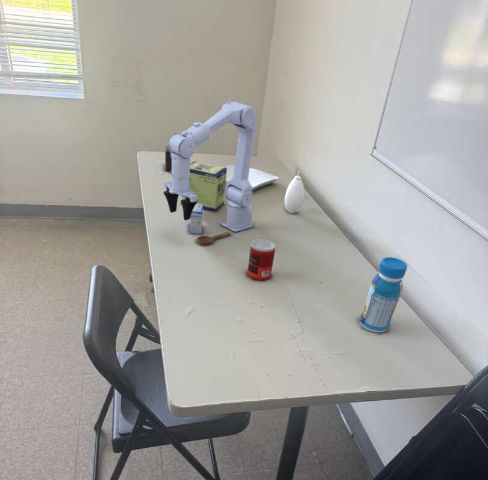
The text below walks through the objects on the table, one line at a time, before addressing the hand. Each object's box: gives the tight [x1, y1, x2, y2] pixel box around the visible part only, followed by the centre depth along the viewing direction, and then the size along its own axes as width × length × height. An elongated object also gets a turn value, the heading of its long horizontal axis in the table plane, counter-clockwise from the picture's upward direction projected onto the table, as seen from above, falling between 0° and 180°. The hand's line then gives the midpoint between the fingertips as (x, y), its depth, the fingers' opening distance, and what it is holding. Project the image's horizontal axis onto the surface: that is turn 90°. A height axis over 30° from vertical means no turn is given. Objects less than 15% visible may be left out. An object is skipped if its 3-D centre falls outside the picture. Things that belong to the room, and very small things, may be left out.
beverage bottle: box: [359, 256, 408, 333], centre depth 121 cm, size 8×8×20 cm
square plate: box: [223, 163, 280, 191], centre depth 215 cm, size 27×27×4 cm
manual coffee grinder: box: [164, 133, 178, 172], centre depth 217 cm, size 16×11×18 cm
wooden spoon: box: [196, 231, 232, 246], centre depth 161 cm, size 15×5×1 cm, turn 135°
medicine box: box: [189, 204, 204, 235], centre depth 164 cm, size 8×4×9 cm, turn 5°
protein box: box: [181, 161, 227, 213], centre depth 183 cm, size 10×16×16 cm
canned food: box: [247, 238, 277, 282], centre depth 140 cm, size 8×8×11 cm
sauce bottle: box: [284, 171, 305, 214], centre depth 186 cm, size 8×8×18 cm
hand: (179, 215), depth 150 cm, fingers open, 7 cm apart
